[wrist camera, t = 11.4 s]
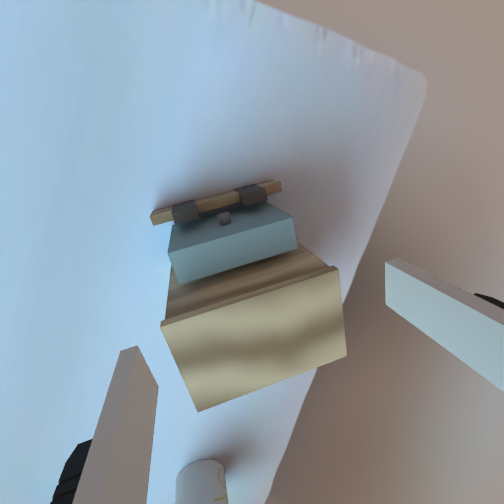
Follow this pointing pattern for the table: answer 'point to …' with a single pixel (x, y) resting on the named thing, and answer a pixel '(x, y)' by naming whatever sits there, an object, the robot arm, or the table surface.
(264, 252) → the door
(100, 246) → the table surface
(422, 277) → the robot arm
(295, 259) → the cabinet
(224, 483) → the cup
